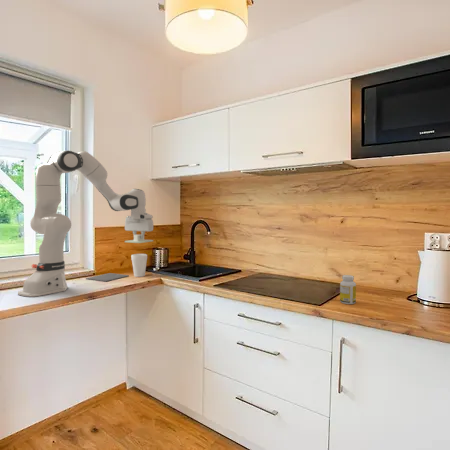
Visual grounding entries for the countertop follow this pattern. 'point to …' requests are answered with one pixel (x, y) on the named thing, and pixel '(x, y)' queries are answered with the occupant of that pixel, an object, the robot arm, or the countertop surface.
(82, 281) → the countertop surface
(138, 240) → the lid
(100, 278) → the mat
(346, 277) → the pill bottle
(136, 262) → the foam cup
